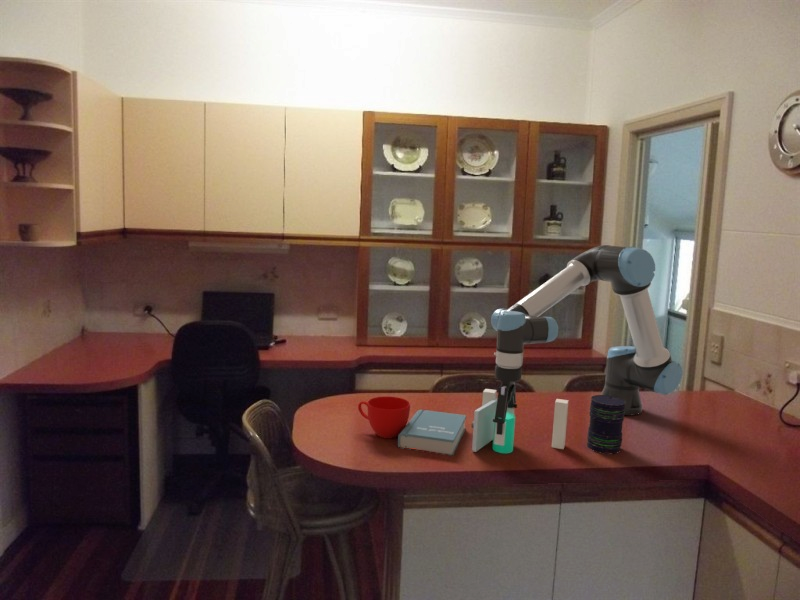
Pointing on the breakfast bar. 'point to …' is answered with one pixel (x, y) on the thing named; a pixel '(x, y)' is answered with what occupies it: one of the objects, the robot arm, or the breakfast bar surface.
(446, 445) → the book
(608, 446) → the storage jar
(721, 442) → the breakfast bar surface
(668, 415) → the breakfast bar surface
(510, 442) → the candle
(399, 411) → the ceramic cup
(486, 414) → the door
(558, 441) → the door frame
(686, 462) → the breakfast bar surface
